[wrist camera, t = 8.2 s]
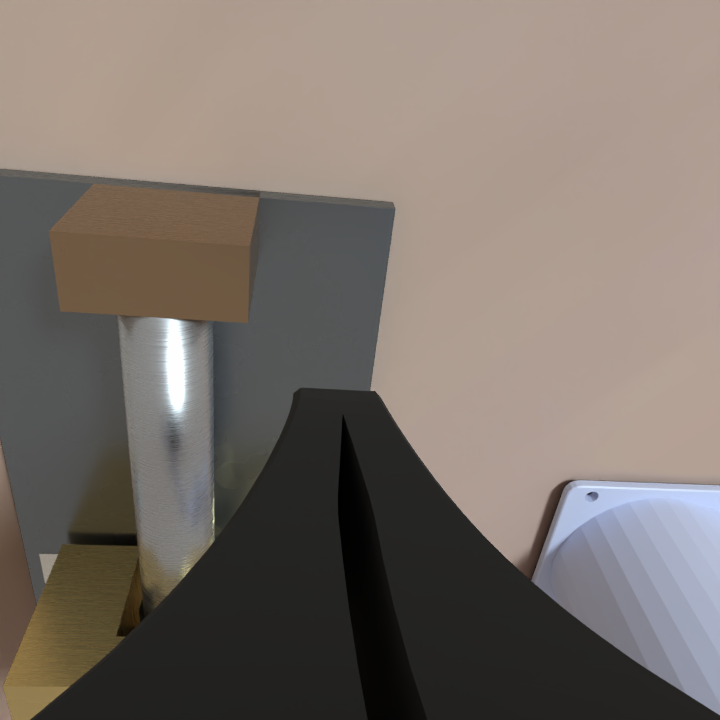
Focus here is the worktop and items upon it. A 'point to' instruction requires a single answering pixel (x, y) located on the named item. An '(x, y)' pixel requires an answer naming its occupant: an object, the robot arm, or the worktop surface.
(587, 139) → the worktop surface
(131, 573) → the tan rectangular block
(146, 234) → the pipe rig
